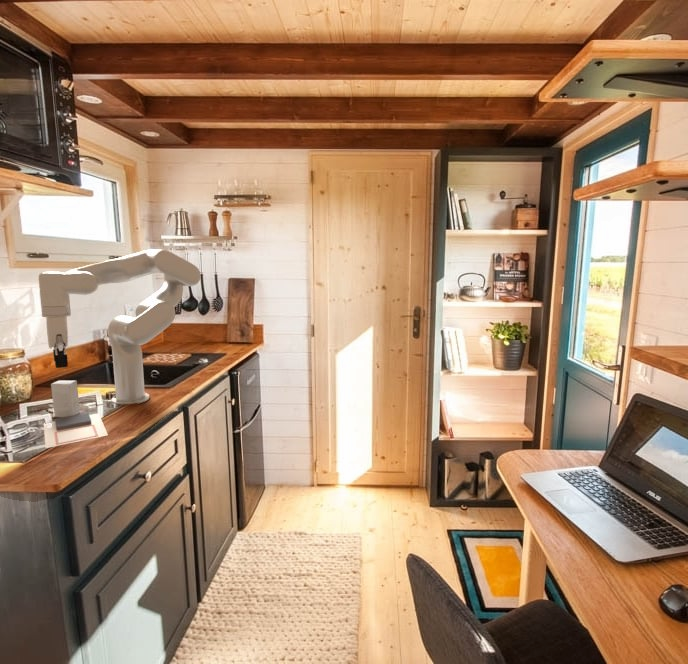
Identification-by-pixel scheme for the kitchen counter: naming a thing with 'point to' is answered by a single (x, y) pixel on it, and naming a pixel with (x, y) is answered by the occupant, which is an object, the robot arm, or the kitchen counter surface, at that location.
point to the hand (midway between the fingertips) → (60, 363)
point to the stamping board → (74, 432)
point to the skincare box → (65, 398)
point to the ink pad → (72, 421)
